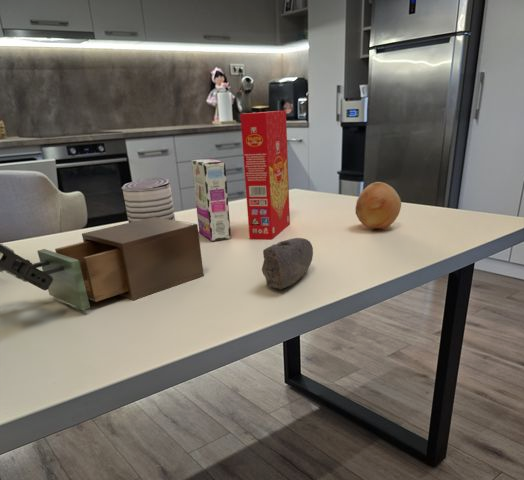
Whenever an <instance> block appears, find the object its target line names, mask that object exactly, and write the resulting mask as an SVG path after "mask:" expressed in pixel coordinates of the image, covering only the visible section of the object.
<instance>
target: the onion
mask: <svg viewBox="0 0 524 480" xmlns="http://www.w3.org/2000/svg"><path fill="white" fill-rule="evenodd" d="M401 209H402V200H401V197H400V195H399V194H398V192H397V191H396V190H395V188H394V187H392V185H390V184H387V183H385V182H382V181H375V182H372V183H370V184H369V185H367V186H366V187H365V188H364V189H362V191H361V192H360V194H359V196H358V198H357V200H356V204H355V215H356V217H357V219H358V221H359V222H360V223H361V224H362V225H363V226H364V227H366V228H368V229H387V228H388V227H390V226H391V225H392V224H393V223H394V222H395V221H396V220H397V218H398V217H399V215H400V212H401Z"/></svg>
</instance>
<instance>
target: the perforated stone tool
mask: <svg viewBox="0 0 524 480" xmlns="http://www.w3.org/2000/svg"><path fill="white" fill-rule="evenodd" d="M262 254H263V264H262V267H261V272H262V275H263V276H264V278H265V280H266V285H267V286H268V287H271V288H272V289H276V290H277V289H278V290H283V289H285V288H289V287H291V286H292V285H294V284H296V282H298V280H300V279H301V278H302V277H303V276H304V275H305V274H306V273H307V271H309V268H310V266H311V264H312V261H313V257H314V248H313V245H312V243H311V241H310V240H309V239H307V238H303V237H294V238H289V239H286V240H282V241H278V242H277V243H275V244H272V245H270V246H268V247H266V248H265V249H263V252H262Z"/></svg>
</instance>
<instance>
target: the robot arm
mask: <svg viewBox="0 0 524 480" xmlns="http://www.w3.org/2000/svg"><path fill="white" fill-rule="evenodd" d="M32 264H33V262H31V261H30V260H29V259H25V258H24V257H22V256H20V255H18V253H17V254H16V253H15V251H14V249H12V248H10V247H8V246H7V245H5V244H3V243H1V242H0V273H1V274H3V273H5V272H6V273H7V274H9V275H11V274H12V275H11V276H13V277H15V279H18V280H21V281H22V282H24V283H29V284H31V285H33V286H35V287H37V288H38V289H41V290H43V291H48V288H49V286H50V284H51V283H52V281H53V278H52V277H51V276H50V275H48V274H46V273H44V272H42V271H43V270H42V269H39V268H35V267H34V266H32ZM11 266H17V267H18V268H17V270H16V271H14V270H12V269H11ZM22 279H23V280H22Z"/></svg>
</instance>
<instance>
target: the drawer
mask: <svg viewBox="0 0 524 480" xmlns="http://www.w3.org/2000/svg"><path fill="white" fill-rule="evenodd" d="M54 250H55V252H54V251H52V250H50V249H46V248H43V249H38V250H36V251H37V255H38V259H39V261H38V262H35V263H32V266H34V267H35V268H37V269H39V268H41V271H42V272H44V273H46V274H48V275H50V276H51V277H52V278H53V281H52V283H51V284H50V286H49V288H48V289H47V291H48V295H49V296H51V297H54V298H56V299H57V300H60V301H62V302H64V303H67V304H68V305H71V306H73V307H75V308H77V309H80V310H82V311H84V310H87V309H90V308H91V305H90V301H91V302H95V303H97V302H100V301H103V300H106V299H110V298H112V297H116V296H119V295H118V294H121V293H124V292H127V291H129V290H128V285H127V280H126V275H125V270H124V265H123V260H122V255H121V250H120V248H119V247H115V246H111V245H107V244H103V243H100V242H96V241H92V240H90V241H86V242H83V241H82V242H77V243H73V244H69V245H65V246H61V247H56V248H54ZM17 268H18V267H17V266H11V269H12V270H14V271H16V270H17ZM10 275H11V276H13V275H12V274H10ZM22 280H23V279H22ZM22 280H21V281H22ZM89 300H90V301H89Z"/></svg>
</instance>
